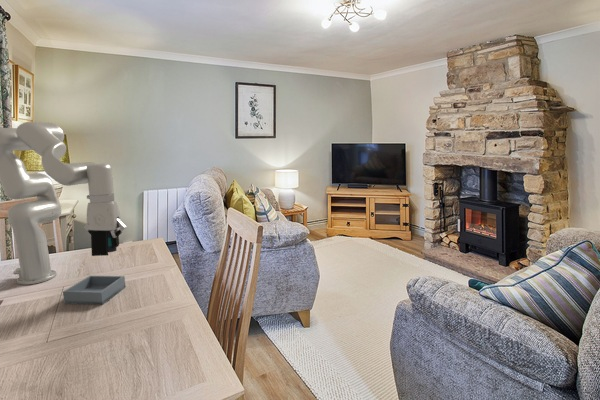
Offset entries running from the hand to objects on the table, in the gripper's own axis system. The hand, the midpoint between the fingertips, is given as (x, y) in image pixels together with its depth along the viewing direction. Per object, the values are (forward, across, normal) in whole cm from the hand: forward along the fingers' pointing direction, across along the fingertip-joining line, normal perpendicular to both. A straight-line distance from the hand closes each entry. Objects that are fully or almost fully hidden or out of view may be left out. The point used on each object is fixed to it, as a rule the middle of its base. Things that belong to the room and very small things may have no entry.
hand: (107, 246), depth 121 cm
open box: (+17, -3, -4) cm, 18 cm away
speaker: (+2, -1, 0) cm, 2 cm away
